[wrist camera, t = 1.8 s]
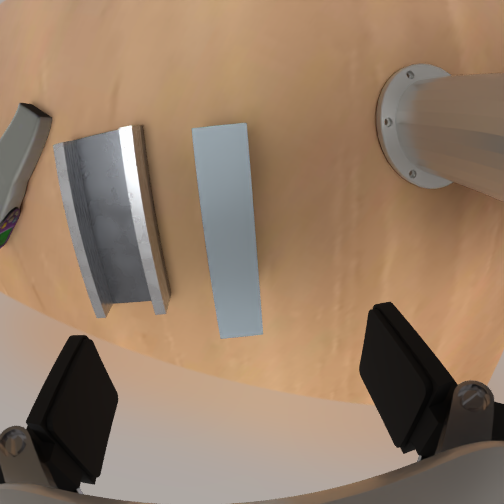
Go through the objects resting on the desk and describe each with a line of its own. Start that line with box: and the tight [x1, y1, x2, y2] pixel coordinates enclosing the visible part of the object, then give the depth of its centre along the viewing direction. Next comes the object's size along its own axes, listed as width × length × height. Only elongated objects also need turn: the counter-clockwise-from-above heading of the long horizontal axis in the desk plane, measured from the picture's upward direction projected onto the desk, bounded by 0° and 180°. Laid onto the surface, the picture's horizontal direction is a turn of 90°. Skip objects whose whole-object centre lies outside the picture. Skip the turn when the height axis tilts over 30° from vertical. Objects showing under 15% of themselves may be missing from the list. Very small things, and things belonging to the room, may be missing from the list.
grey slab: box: [192, 123, 263, 339], centre depth 23 cm, size 14×3×9 cm, turn 4°
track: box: [53, 125, 171, 318], centre depth 25 cm, size 16×7×4 cm, turn 4°
